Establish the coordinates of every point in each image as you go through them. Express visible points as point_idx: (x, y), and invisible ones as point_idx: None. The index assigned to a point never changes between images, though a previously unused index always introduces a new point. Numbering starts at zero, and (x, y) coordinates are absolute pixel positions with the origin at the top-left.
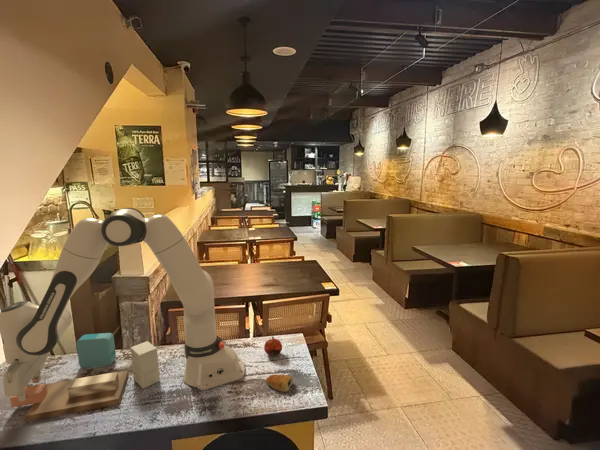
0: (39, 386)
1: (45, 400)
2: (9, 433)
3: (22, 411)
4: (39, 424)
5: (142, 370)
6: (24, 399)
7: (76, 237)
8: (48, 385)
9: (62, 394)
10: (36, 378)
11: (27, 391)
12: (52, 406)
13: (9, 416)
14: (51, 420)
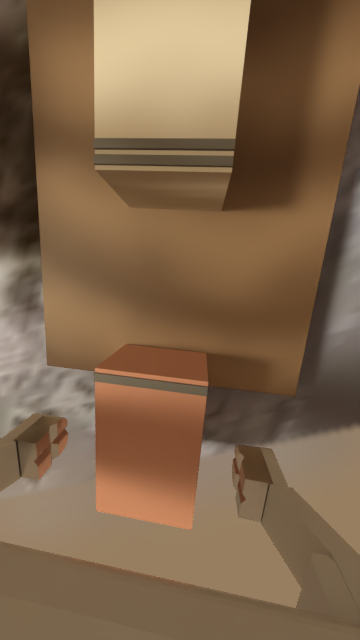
0: (122, 400)
1: (195, 336)
2: (333, 420)
3: None
4: (333, 321)
5: None
6: (274, 459)
7: None
8: (60, 355)
9: (170, 260)
10: (40, 450)
11: (158, 456)
12: (273, 284)
13: (210, 445)
14: (329, 275)
